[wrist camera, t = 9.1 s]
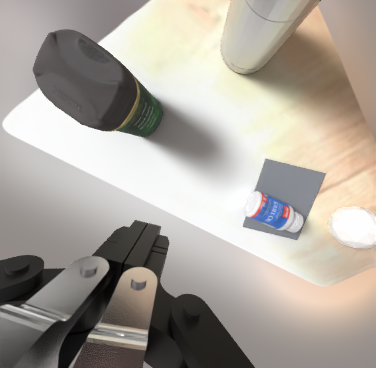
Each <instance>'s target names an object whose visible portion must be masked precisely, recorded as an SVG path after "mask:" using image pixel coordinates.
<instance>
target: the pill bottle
mask: <svg viewBox="0 0 376 368" xmlns="http://www.w3.org/2000/svg"><path fill="white" fill-rule="evenodd" d="M244 213H245V215H246V216H247V217H249V218H251V219H253V220H256V221H258V222H260V223H262V224H265V225H267V226H269V227H272V228H274V229H276V230H287V231H290V232H292V233H294V232H297V231H299V230H300V229H301V227H302V225H303V216H302V215H301V214H299V213H297V212H295V211H294V210H293V208H292V207H291V206H290V205H288V204H286V203H284V202H282V201H279V200H277V199H275V198H273V197H270V196H268V195H266V194H263V193H261V192H258V191H255V192H253V193H252V194H251V195H250V196H249V198H248V199H247V202H246V204H245V208H244Z"/></svg>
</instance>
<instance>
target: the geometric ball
mask: <svg viewBox="0 0 376 368" xmlns="http://www.w3.org/2000/svg"><path fill="white" fill-rule="evenodd" d="M328 227H329V230H330V233H331V235H332V236H333V237H334V238H335V239H336V240H337V241H338V242H339V243H341V244H344V245H347V246H350V247H353V248H371V247H373V246H375V245H376V215H375V214H374V213H373V212H371V211H370V210H368V209H364V208H361V207H357V206H351V207H342V208H340V209H338V210H337V211H335V212H334V213H333V214H331V217H330V219H329V221H328Z"/></svg>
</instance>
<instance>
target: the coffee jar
mask: <svg viewBox="0 0 376 368" xmlns="http://www.w3.org/2000/svg"><path fill="white" fill-rule="evenodd" d="M33 72H34V74H35V78H36V81H37V84H38V86H39V88H40V90H41V91H42V93H43V94H44V95H45V96H46V98H47V99H49V100H50V101H51V102H52V103H53V104H54V105H55V106H56V107H58V108H59V109H61V110H62V111H63V112H65V113H66V114H68V115H69V116H71V117H72V118H73V119H75V120H76V121H78V122H79V123H80V124H82V125H86V126H88V127H90V128H94V129H98V130H101V131H120V132H124V133H129V134H132V135H136V136H141V137H146V136H149V135H151V134H152V133H153V132H154V131H155V129H156V128H157V126H158V125H159V123H160V121H161V119H162V115H163V111H162V107H161V105H160V104H159V102H158V101H157V100H156V99H155V98H154V97H153V96H152V95H151V94H150V93H149V92H148V91H147V89H146V88H145V87H144V86H143V85H142V84H141V83H140V82H139V81H138V80H137V79H136V78H135V76H134V75H133V74H132V73H131V72H130V71H129V70H128V69H127V68H126V67H125V66H124V65H123V64H122V63H121V62H120V61H118V60H117V59H116V58H115V57H114V56H113V55H112V54H110V53H109V52H108V51H107V50H105V49H104V48H103V47H101V46H100V45H98V44H97V43H95V42H94V41H92V40H91V39H89V38H88V37H86V36H85V35H83V34H81V33H79V32H77V31H74V30H58V31H55V32H51V33H49V34H48V35H47V37H46V39H45V41H44V42H43V44H42V46H41V48H40V50H39V53H38V55H37V58H36V60H35V63H34V67H33Z"/></svg>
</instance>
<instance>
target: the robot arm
mask: <svg viewBox="0 0 376 368" xmlns="http://www.w3.org/2000/svg"><path fill="white" fill-rule="evenodd" d="M320 1H321V0H230V5H229V9H228V13H227V18H226V22H225V26H224V30H223V35H222V39H221V54H222V57H223V60H224V61H225V63H226V65H227V66H228V67H229V68H230V69H232V70H233V71H234V72H237V73H240V74H250V73H253V72H256V71H258V70H259V69H261V68H262V67H263V66H264V65H265V64H266V63H267V62H268V61H269V60H270V59H271V57H272V56H273V55H274V54H275V53H276V52H277V51H278V49H279V48H280V47H281V46H282V45H283V44H284V43H285V41H286V40H287V39H288V38H289V37H290V36H291V34H292V33H293V32H294V31H295V30H296V29H297V28H298V26H299V25H300V24H301V23H302V22H303V21H304V19H305V18H306V17H307V16H308V15H309V14H310V13H311V11H312V10H313V9H314V8H315V7H316V6H317V4H318V3H319V2H320ZM160 229H161V226H158V225H154V224H150V223H149V224H148V223H145V222H141V221H137V220H135V221H134V222H133V224H132V225H131V226H130V227H124V226H123V227H121V228H119V229H117V230H116V231H114V233H113V234H112V235H111V236H110V237H109V238H108V239H107V241H105V242H104V243H103V244H102V245H101V246H100V247H99V249H98V250H97V251H96V252H95V253H94V254H93V255H92V256H87V257H83V258H80V259H78V260H76V261H74V262H73V263H72V264H71V265H69V267H67V268H63V269H44V261H43V260H42V259H41V258H40V257H37V256H33V255H23V256H17V257H13V258H9V259H5V260H1V261H0V368H143V363H144V361H145V362H146V363H147V364H149V365H150V366H151V367H153V368H255V367H254V366H253V364H252V363H251V362H250V360H249V359H248V358H247V357H246V355H245V354H244V353H243V351H242V350H241V349H240V347H239V346H238V345H237V343H236V342H235V341H234V339H233V338H232V337H231V335H230V334H229V333H228V331H227V330H226V329H225V327H224V326H223V325H222V324H221V322H220V321H219V320H218V318H217V317H216V316H215V314H214V313H213V312H212V310H211V309H210V308H209V307H208V305H207V304H206V303H205V302H204V301H203V300H202V299H201V298H199V297H198V296H195V295H192V294H183V295H180V296H178V297H177V298H175V297H173V296H171V295H170V294H168V293H167V292H166V291H165V290H164V289H163V287H162V286H161V283H160V278H161V274H162V271H163V267H164V263H165V259H166V255H167V251H168V246H169V240H168V238H167V237H166V236H162V235H159V234H160ZM101 318H102V319H101Z"/></svg>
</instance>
